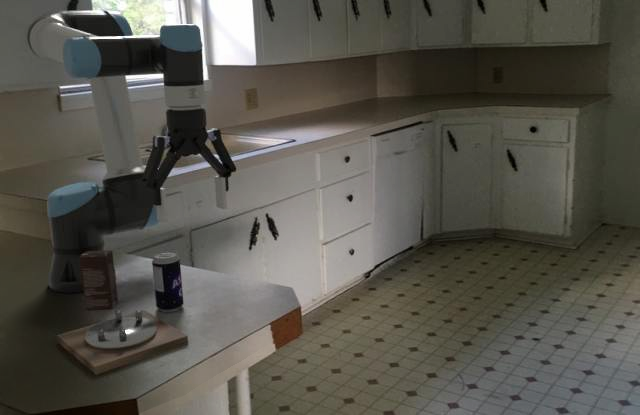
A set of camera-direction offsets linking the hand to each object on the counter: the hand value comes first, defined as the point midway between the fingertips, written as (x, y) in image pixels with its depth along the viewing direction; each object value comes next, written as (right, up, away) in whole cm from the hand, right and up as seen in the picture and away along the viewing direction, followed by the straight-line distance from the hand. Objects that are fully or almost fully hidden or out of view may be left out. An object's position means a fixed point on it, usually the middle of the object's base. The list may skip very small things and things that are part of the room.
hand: (193, 214), depth 136 cm
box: (-22, -20, +12) cm, 32 cm away
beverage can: (-7, -20, +9) cm, 23 cm away
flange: (-12, -23, -7) cm, 27 cm away
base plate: (-12, -24, -7) cm, 28 cm away
